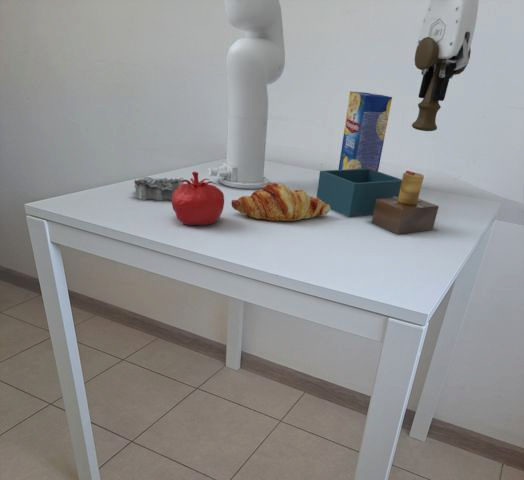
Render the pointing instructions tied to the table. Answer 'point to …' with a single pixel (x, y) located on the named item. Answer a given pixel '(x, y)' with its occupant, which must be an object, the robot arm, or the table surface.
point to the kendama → (423, 60)
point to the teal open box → (356, 190)
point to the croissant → (280, 204)
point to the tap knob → (410, 188)
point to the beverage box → (364, 131)
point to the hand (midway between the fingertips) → (431, 98)
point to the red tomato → (197, 202)
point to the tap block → (404, 215)
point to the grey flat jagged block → (156, 188)
